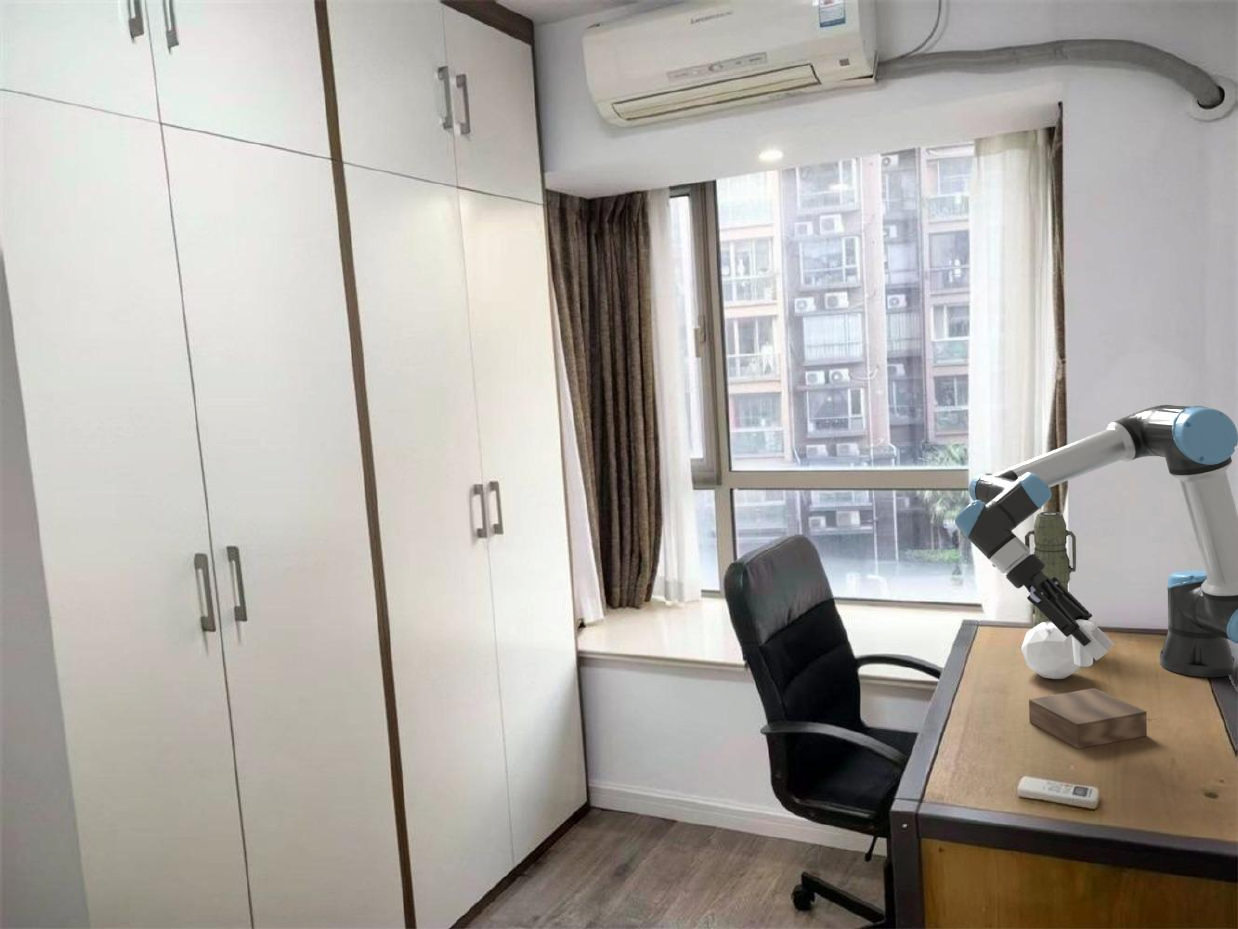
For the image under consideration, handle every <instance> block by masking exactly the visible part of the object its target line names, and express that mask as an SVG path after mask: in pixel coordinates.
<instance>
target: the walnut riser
mask: <svg viewBox="0 0 1238 929" xmlns="http://www.w3.org/2000/svg"><path fill="white" fill-rule="evenodd" d="M1028 712H1029V713H1028V714H1029V723H1030V724H1032V725H1033V726H1036V727H1037V728H1039V729H1040V730H1043V731H1045V732H1046V733H1048V734H1050V735H1052V736H1054V737H1055V738H1057V739H1060V740H1061V741H1062V742H1065V743H1066V744H1067V745H1070V746H1072V747H1074V748H1076V749H1077V750H1079V749H1084V748H1089V747H1094V746H1095V747H1096V746H1100V745H1105V744H1110V743H1115V742H1121V741H1126V740H1131V739H1136V738H1143V737H1147V735H1148V734H1147V729H1148V726H1147V716H1148V715H1147V711H1146V710H1144V709H1142V708H1139V707H1137V706H1135V705H1133V704H1130V703H1129V702H1126V701H1123V700H1122V699H1120V698H1117V697H1115V696H1113V695H1111V694H1108V693H1107V692H1104V691H1102V690H1099V689H1097V688H1095V687H1091V688H1087V689H1081V690H1080V689H1079V690H1076V691H1075V690H1074V691H1071V692H1064V693H1058V694H1053V695H1047V696H1041V697H1036V698H1031V699H1030V698H1029V699H1028Z"/></svg>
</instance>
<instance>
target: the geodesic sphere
mask: <svg viewBox="0 0 1238 929" xmlns="http://www.w3.org/2000/svg"><path fill="white" fill-rule="evenodd" d="M1020 651H1021V652H1022V655H1023V658H1024V661H1025V664H1026V665H1027V667H1028V668H1030V669H1031V670H1032V671H1034V672H1035V673H1036V674H1038V675H1039V676H1041V677H1042V678H1044V679H1052V680H1064V679H1067V678H1068V677H1069V676H1071V675H1072V674H1074V673H1076V672H1078V671H1079V670H1080V669H1081V666H1078V665H1076V664H1075V663H1074V655H1073V645H1072V635H1069V636H1068V637H1066V636H1065V635H1064V634H1063V633H1062V632H1061V631H1060V630H1059V629H1058V628H1057V627H1056V626H1055V625H1054V624H1053V623H1052V622H1049V623H1048V622H1046V623H1045V622H1042V623H1040V624H1039V625H1037V626H1036V627H1034V628H1033V627H1032V628H1031V629H1029V630H1028V631H1027V632H1026V634H1025V635H1024V639H1023V642H1022V645H1021V648H1020Z"/></svg>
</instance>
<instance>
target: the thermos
mask: <svg viewBox="0 0 1238 929" xmlns="http://www.w3.org/2000/svg"><path fill="white" fill-rule="evenodd" d="M1031 535H1033V537H1034V538H1033V539H1034V540H1033V541H1034V546H1035V547H1034V550H1033V551H1034V552H1033V553H1032V554H1033V555H1034V554H1035V555H1036V556H1037V557H1038V558H1039V559H1040V560H1041V561H1042V562H1043V563H1044V564H1045V568H1044V569H1043V570H1042V571H1041V572H1042V573H1043V574H1044V575H1046V576H1047V577H1048V578H1050V579H1052V578H1053V577H1056V578H1057V579H1058V580H1059V582H1060V583H1061V584H1062V585H1063V586H1064V587H1065V588H1066V589H1067V590H1068V591H1069V583H1070V580H1071V574H1072V573H1074V572H1076V569H1077V544H1076V543H1077V540H1076V538H1077V537H1076V535H1075V534H1074V532H1073V531H1071V530H1068V529H1067V523H1066V520H1065V517H1064V514H1063V513H1060V512H1057V511H1042V512H1040V513H1036V517H1035V519H1034V524H1033V529H1032V530H1029V531H1028V532H1027V533H1026V534H1025V535H1024V544H1025V545H1026V546H1027V547H1028V548H1029V549H1030V546H1031V545H1030V544H1031V543H1030V537H1031ZM1069 536H1070V537H1071V539H1072V540H1071V541H1072V542H1071V544H1072V545H1071V546H1072V548H1071V550H1072V551H1071V552H1072V553H1071V554H1072V566H1071V564H1070V563H1071V562H1070V558H1069V555H1068V550H1067V542H1068V541H1067V539H1068V538H1067V537H1069ZM1030 550H1031V549H1030ZM1029 553H1030V554H1031V551H1030V552H1029ZM1042 622H1045V623H1046V622H1048V623H1049V622H1051V621H1050V620H1049V619H1048V618H1047V617H1046V616H1045V615H1044V614H1043V613H1042V612H1041V611H1040V610H1039V609H1038V608H1037V607H1036V606H1035V605H1034V618H1033V622H1032V628H1034V627H1036V626H1037V625H1039V624H1040V623H1042Z"/></svg>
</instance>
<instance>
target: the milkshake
mask: <svg viewBox="0 0 1238 929" xmlns="http://www.w3.org/2000/svg"><path fill="white" fill-rule="evenodd" d="M1075 621H1076V622H1077V624H1078V625H1079V626H1080V627H1082V626H1083V627H1084V628H1085V629H1086V630H1087V631H1088V632H1089V633H1090V634H1091V635H1092V636H1093V637H1095V628H1096V626H1097V625H1096V624H1097V623H1098V619H1096V620H1095V622H1093V621H1092V622H1093V623H1094V624H1093V623H1092V622H1090V621H1088V620H1080V619H1078V620H1075ZM1095 625H1096V626H1095ZM1072 645H1073V655H1074V663H1075V664H1076V665H1078V666H1080V667H1084V668H1089V667H1091V666H1093V663H1094V662H1093V661H1094V658H1093V657H1092V656H1091V655H1090V653H1089V652H1088V651H1087V650H1086V649H1085V648H1084V647H1083V646H1082V645H1081V644H1080V643H1079V642H1078V641H1077V640H1076V639H1075V638H1074V637H1073V636H1072Z"/></svg>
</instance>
